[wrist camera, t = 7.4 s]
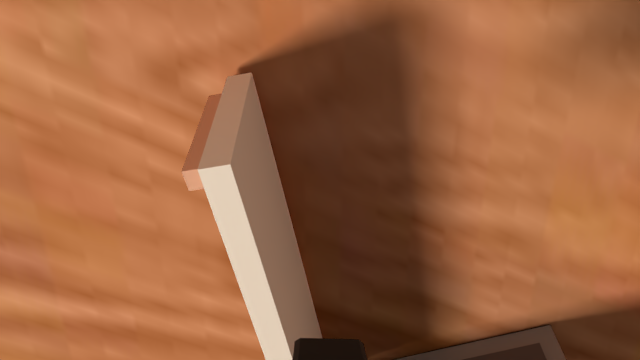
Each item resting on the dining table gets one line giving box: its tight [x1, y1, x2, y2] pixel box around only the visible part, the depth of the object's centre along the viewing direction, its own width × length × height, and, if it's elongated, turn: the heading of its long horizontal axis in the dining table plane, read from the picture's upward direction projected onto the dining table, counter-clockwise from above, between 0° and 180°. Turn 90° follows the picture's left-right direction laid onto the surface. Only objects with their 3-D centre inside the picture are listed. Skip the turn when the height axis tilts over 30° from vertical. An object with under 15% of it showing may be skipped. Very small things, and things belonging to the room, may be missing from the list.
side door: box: [182, 72, 323, 360], centre depth 20 cm, size 15×1×6 cm, turn 10°
